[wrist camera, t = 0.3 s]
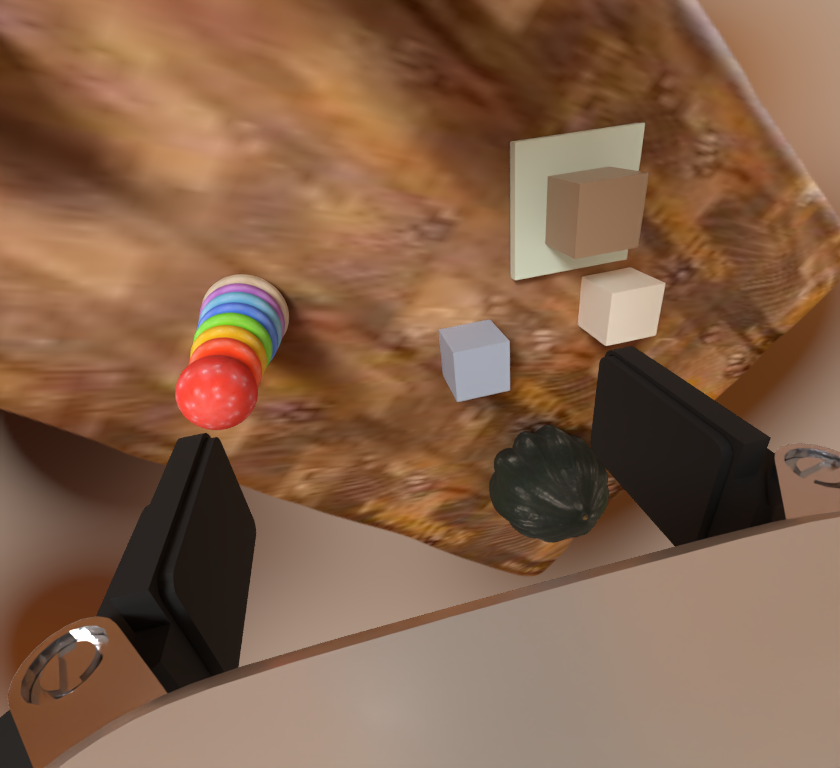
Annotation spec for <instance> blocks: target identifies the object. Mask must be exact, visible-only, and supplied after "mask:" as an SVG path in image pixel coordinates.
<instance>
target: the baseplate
mask: <svg viewBox="0 0 840 768" xmlns="http://www.w3.org/2000/svg"><path fill="white" fill-rule="evenodd" d="M644 128H645V123H632V124H625V125H619V126H612V127H605V128H598V129H592V130H585V131H578V132H571V133H565V134H558V135H551V136H544V137H537V138H531V139H524V140H517V141H510V253H511V278H512V279H514V280H520V279H525V278H531V277H536V276H541V275H547V274H552V273H557V272H562V271H568V270H573V269H578V268H584V267H589V266H594V265H599V264H605V263H610V262H615V261H621V260H626V259H627V255H628V249H632V248H637V247H638V245H639V238H640V231H641V224H642V217H643V210H644V204H645V197H646V190H647V183H648V176H649V173H648V172H642V171H639V165H640V158H641V151H642V143H643V136H644Z"/></svg>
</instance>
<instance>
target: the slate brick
mask: <svg viewBox="0 0 840 768" xmlns="http://www.w3.org/2000/svg"><path fill="white" fill-rule="evenodd" d="M439 339H440V350H441V360H442V370H443V376H444V378H445V380H446V382H447V384H448V386H449V388H450V389H451V391H452V393H453V395H454V397H455V399H456V401H457V402H460V401H464V400H469V399H474V398H478V397H483V396H487V395H492V394H496V393H501V392H505V391H510V341H509V340H508V339H507V338H506V337H505V336H504V334H503V333H502V332H501V331H500V330H499V329H498V328H497V327H496V326H495V325H494V324H493V322H492V321H491V320H490V319H489V320H484V321H479V322H474V323H469V324H464V325H459V326H454V327H449V328H444V329H439Z"/></svg>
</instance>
